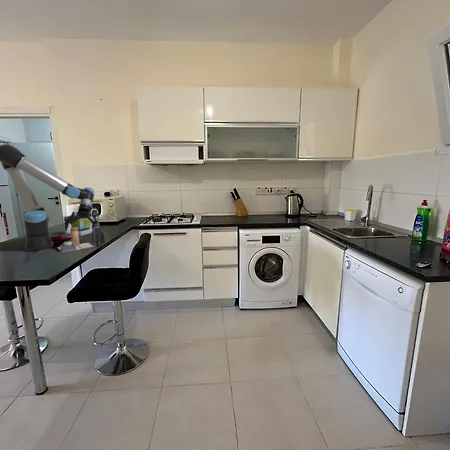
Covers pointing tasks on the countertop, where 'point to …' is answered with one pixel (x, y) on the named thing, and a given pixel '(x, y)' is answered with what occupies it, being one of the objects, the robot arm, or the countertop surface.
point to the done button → (67, 244)
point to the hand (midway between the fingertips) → (79, 232)
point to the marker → (75, 235)
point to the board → (81, 246)
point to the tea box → (79, 225)
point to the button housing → (68, 247)
